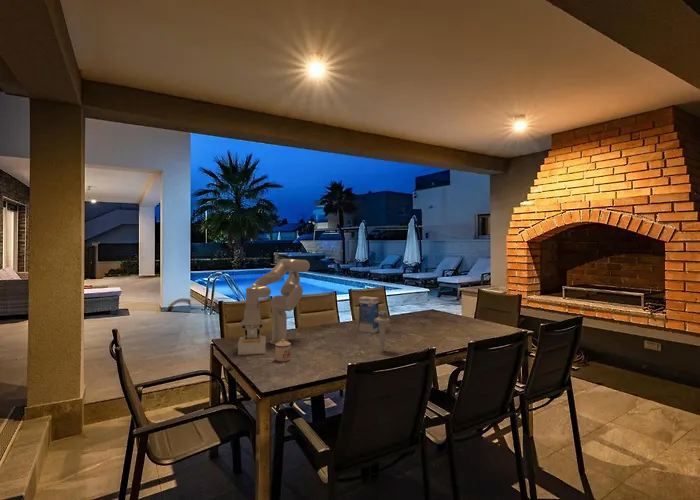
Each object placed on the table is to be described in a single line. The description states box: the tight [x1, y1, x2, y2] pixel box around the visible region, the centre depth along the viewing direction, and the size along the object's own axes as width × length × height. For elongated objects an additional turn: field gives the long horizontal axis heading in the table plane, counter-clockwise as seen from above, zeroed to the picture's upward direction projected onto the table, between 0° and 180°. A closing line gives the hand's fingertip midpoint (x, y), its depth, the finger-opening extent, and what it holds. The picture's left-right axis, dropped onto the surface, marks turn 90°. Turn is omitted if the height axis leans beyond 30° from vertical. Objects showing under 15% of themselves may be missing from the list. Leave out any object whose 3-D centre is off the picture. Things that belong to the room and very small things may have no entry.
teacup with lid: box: [274, 339, 292, 363], centre depth 221 cm, size 12×9×12 cm
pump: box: [247, 325, 258, 339], centre depth 236 cm, size 6×8×8 cm
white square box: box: [237, 334, 267, 356], centre depth 237 cm, size 16×16×8 cm
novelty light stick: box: [374, 310, 391, 353], centre depth 236 cm, size 10×10×25 cm
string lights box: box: [358, 295, 379, 334], centre depth 288 cm, size 13×8×26 cm, turn 58°
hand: (252, 335), depth 237 cm, fingers closed on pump, 6 cm apart
